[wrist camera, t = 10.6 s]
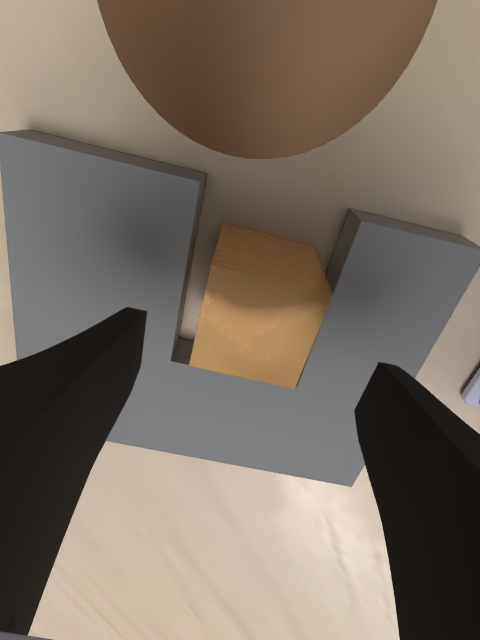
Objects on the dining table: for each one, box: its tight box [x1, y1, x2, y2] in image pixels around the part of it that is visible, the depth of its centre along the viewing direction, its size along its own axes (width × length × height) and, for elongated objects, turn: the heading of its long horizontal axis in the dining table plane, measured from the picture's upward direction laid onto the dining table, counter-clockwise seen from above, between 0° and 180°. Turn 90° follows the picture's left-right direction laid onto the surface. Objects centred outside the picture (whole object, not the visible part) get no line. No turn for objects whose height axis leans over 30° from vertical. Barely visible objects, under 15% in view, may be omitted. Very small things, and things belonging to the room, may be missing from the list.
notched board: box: [0, 130, 480, 487], centre depth 18 cm, size 18×14×2 cm
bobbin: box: [98, 0, 437, 159], centre depth 10 cm, size 7×7×6 cm
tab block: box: [189, 223, 333, 389], centre depth 15 cm, size 4×4×5 cm
